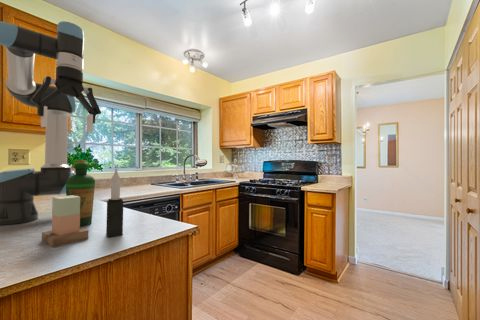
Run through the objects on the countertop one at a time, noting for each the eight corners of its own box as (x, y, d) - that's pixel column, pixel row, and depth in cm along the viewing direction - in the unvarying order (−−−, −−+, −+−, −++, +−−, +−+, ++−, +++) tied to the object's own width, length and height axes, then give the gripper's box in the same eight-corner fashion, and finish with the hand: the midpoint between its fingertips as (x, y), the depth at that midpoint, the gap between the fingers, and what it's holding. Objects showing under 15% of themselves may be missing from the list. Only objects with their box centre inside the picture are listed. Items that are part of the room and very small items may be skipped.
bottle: (78, 229, 90) (80, 160, 90) (57, 226, 92) (59, 159, 93) (100, 222, 100) (101, 160, 101) (81, 220, 103) (82, 160, 103)
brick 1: (52, 214, 77) (52, 197, 77) (72, 211, 82) (72, 195, 82) (59, 217, 74) (59, 199, 74) (79, 213, 79) (80, 196, 79)
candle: (105, 233, 85) (107, 168, 85) (120, 231, 88) (122, 168, 88) (107, 237, 81) (109, 168, 81) (123, 235, 84) (124, 168, 84)
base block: (41, 241, 76) (41, 232, 76) (75, 233, 85) (75, 225, 85) (53, 247, 71) (53, 238, 71) (88, 238, 80) (88, 230, 80)
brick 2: (51, 232, 77) (52, 214, 77) (72, 227, 82) (72, 211, 82) (59, 235, 74) (59, 217, 74) (79, 230, 79) (80, 213, 79)
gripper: (26, 51, 66) (24, 122, 66) (111, 79, 87) (110, 133, 87) (17, 57, 70) (16, 124, 70) (101, 82, 91) (100, 134, 91)
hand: (68, 129), depth 78 cm, fingers open, 13 cm apart
